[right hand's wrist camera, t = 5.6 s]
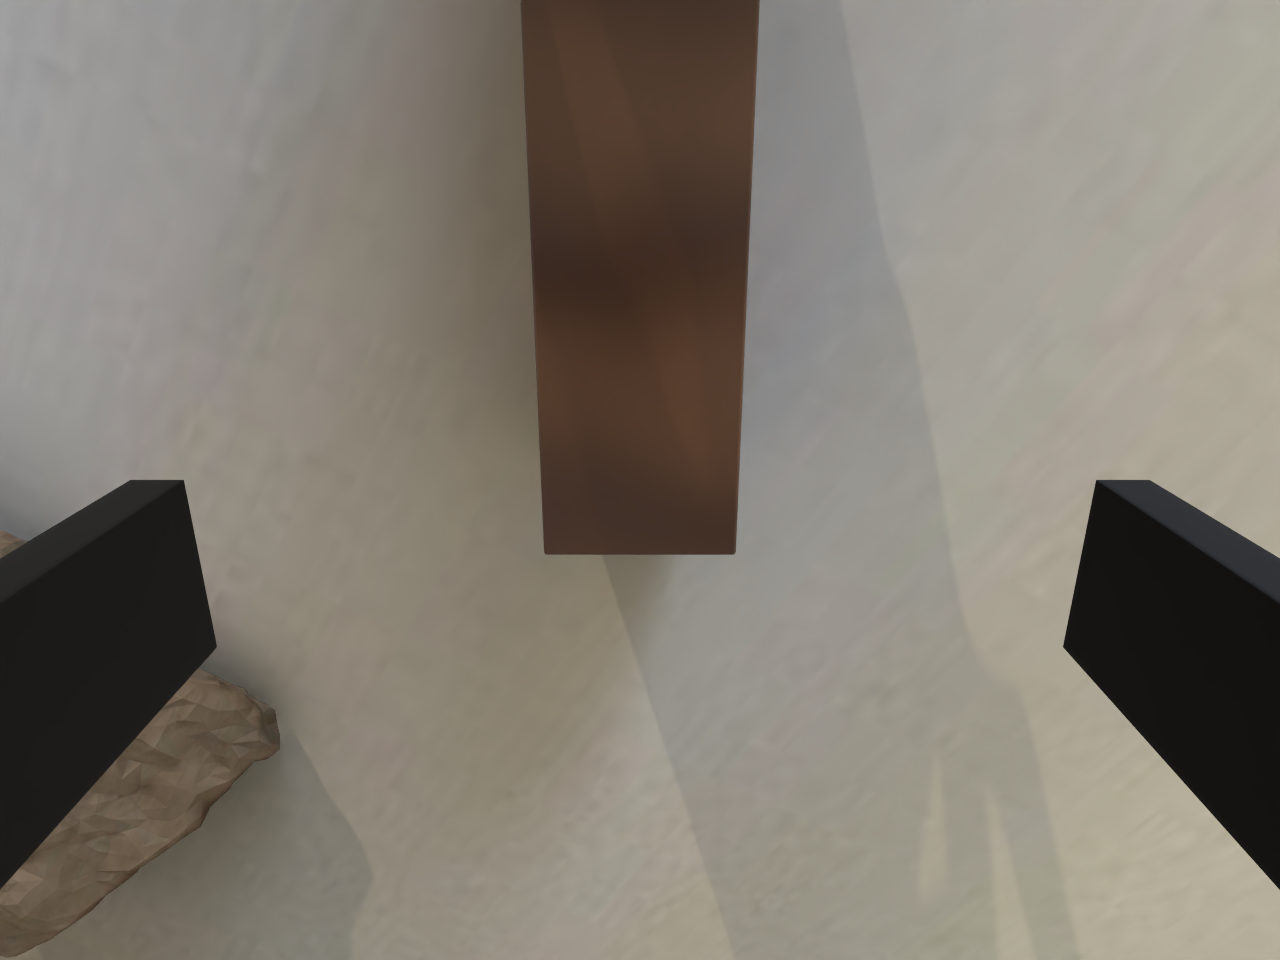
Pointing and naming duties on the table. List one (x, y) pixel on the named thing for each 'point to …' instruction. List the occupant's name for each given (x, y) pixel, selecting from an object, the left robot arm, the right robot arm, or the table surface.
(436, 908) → the table surface
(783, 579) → the table surface
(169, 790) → the stone
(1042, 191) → the table surface
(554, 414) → the walnut beam
